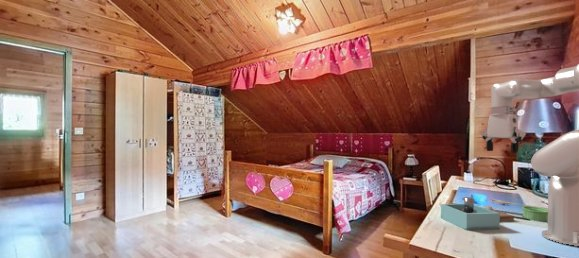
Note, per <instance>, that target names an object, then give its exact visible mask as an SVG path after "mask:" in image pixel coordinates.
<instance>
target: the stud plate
mask: <svg viewBox="0 0 579 258" xmlns="http://www.w3.org/2000/svg"><path fill="white" fill-rule="evenodd" d="M484 208H485V209H488V210H491V211H494V212H497V213H500V222H514V219H515V218H514V217H515V216H514V215H512V214H508V213H506V212H502V211H499V210H496V209H494V208H493V207H492V206H491V205H485V207H484Z"/></svg>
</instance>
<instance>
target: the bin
mask: <svg viewBox="0 0 579 258" xmlns="http://www.w3.org/2000/svg"><path fill="white" fill-rule="evenodd" d="M462 208H464V203H441V204H440V219H442V220H444V221H446V222H448V223H449V224H450V223H451V224H453V225H454V226H456V227H458V228H461V229H463V230H465V231H477V230H478V231H479V230H480V231H481V230H484V231H485V230H500V223H501V221H500V213H497V212H494V211H491V210H488V209H485V207H482V206H479V205H476V204H474V210H477V213H465V212H462V211H461V210H462Z"/></svg>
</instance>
